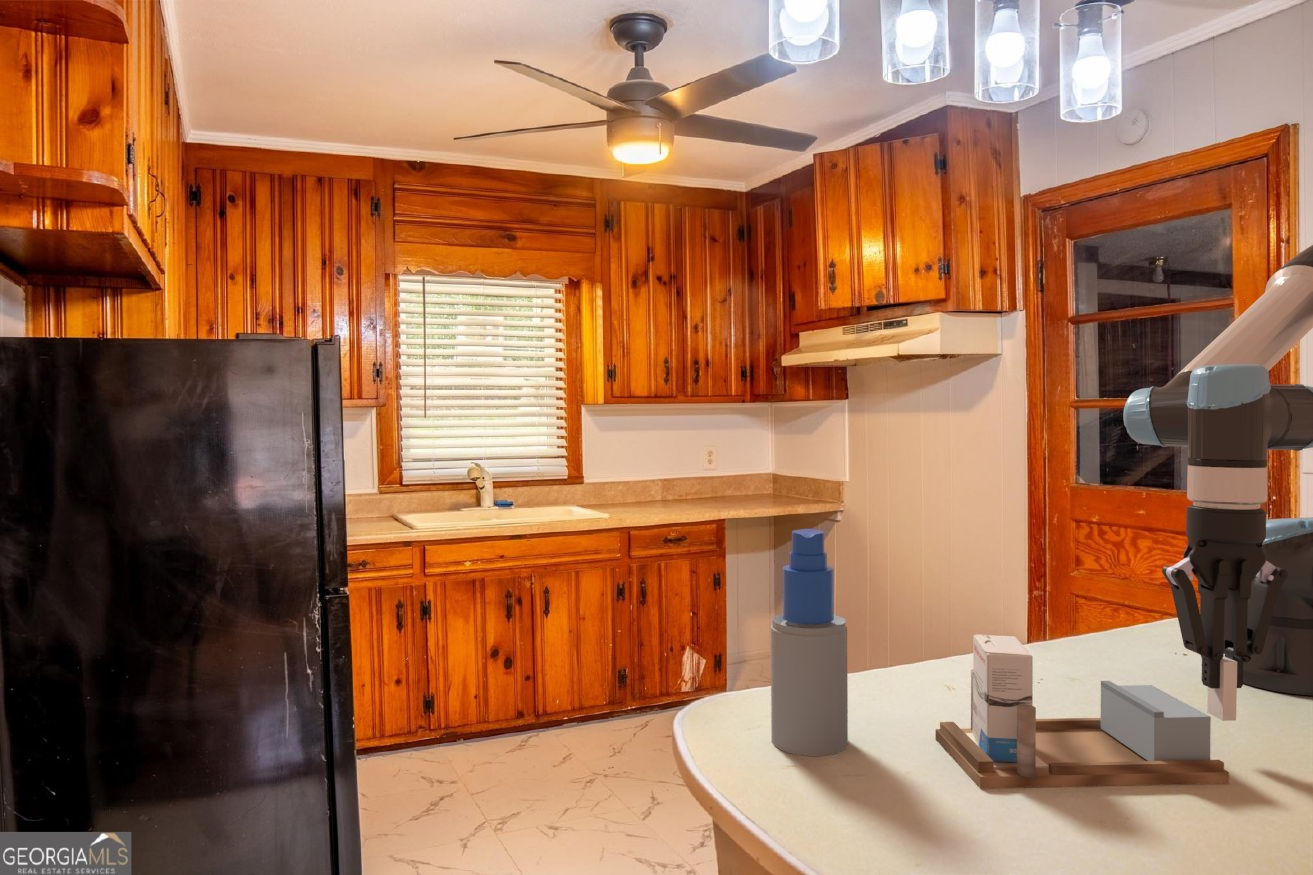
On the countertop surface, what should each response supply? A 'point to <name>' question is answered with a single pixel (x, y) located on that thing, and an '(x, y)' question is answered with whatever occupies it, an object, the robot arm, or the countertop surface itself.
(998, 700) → the ink box
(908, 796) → the countertop surface
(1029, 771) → the tray
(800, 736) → the spray bottle
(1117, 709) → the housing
